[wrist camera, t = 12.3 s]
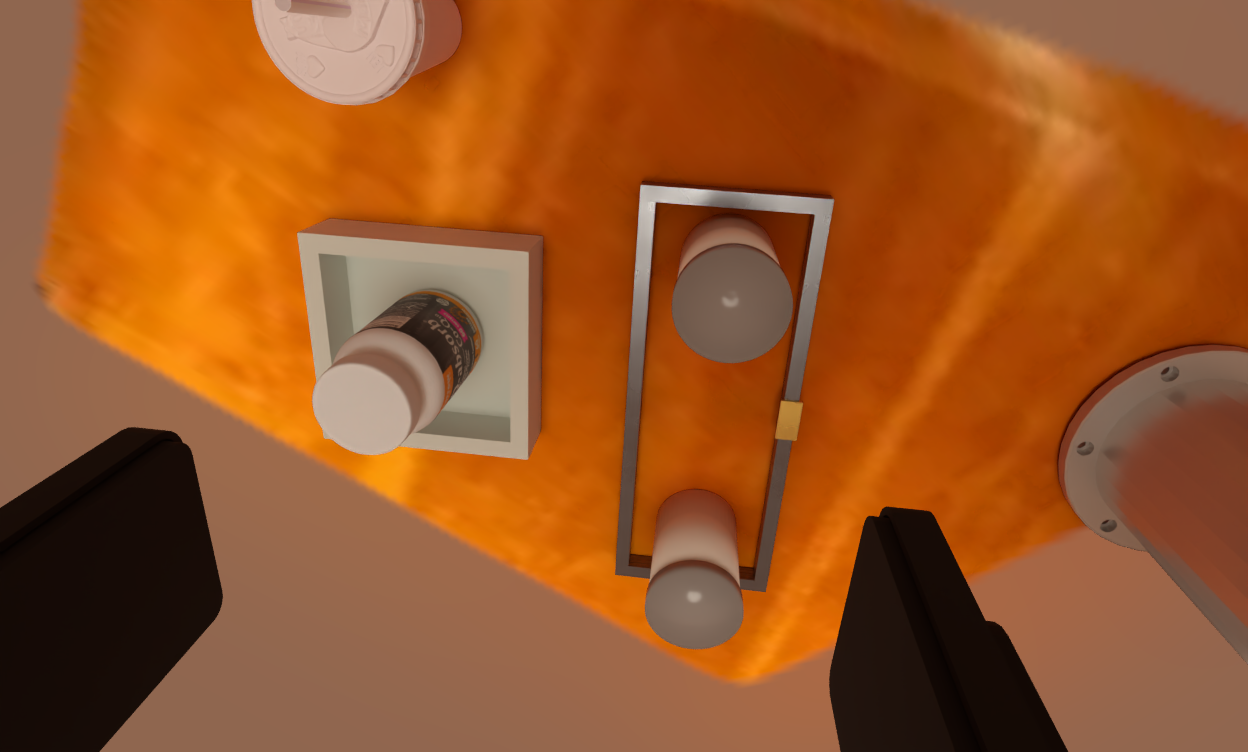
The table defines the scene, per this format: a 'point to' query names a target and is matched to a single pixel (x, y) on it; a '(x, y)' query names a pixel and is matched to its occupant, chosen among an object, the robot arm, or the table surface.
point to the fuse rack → (795, 367)
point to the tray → (460, 266)
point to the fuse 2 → (695, 572)
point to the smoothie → (356, 43)
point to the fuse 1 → (730, 290)
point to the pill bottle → (397, 372)
